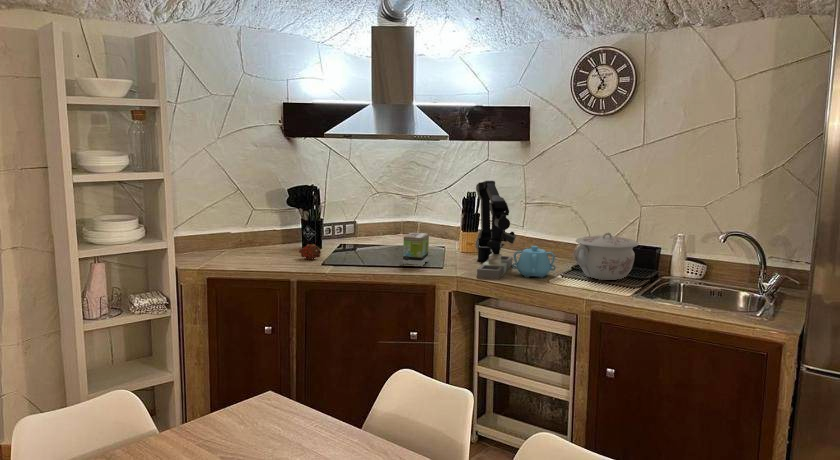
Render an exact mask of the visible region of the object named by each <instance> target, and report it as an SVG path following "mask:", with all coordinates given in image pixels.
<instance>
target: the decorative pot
mask: <svg viewBox="0 0 840 460" xmlns="http://www.w3.org/2000/svg"><path fill="white" fill-rule="evenodd" d="M517 254H520V256H519V257H518V260H517ZM548 255H551V256H552V260H551V261H550V258H549V256H548ZM513 260H514V262H515V263H512V266H511V267H512V269H514V270H518V272H519V274H520V275H522V276H523V277H524V278H529V277H537V278H539V279H542V278H543V279H544V277H546V276H548V275H549V273H550V271H551V272H553V271H555V270H556V266H555V264H554V262H555V260H556V255H555V254H554V253H553V252H552V251H546V250H545V249H543V248H539V246H537V245H531V246H530V248H525V249H523V250H517V251H515V252H514V253H513ZM552 267H553V268H552Z"/></svg>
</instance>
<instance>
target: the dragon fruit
mask: <svg viewBox="0 0 840 460" xmlns="http://www.w3.org/2000/svg"><path fill="white" fill-rule="evenodd" d="M298 253H300V256H301V257H302V258H305V257H306V258H305V259H306V260H307V259H309V258H311V259H309V260H312V258H320V257H321V254H322V252H321V249H320V247H318V246H317V245H316V244H314V243H312V244H309V243H307V245H306V246H303V248H300V249H299V251H298Z"/></svg>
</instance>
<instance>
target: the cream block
mask: <svg viewBox="0 0 840 460" xmlns="http://www.w3.org/2000/svg"><path fill="white" fill-rule="evenodd" d="M501 256H503V255H502V254H501V253H500V254H493V253H492V254H490V255H489V264H494V265H500V264H501Z"/></svg>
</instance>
